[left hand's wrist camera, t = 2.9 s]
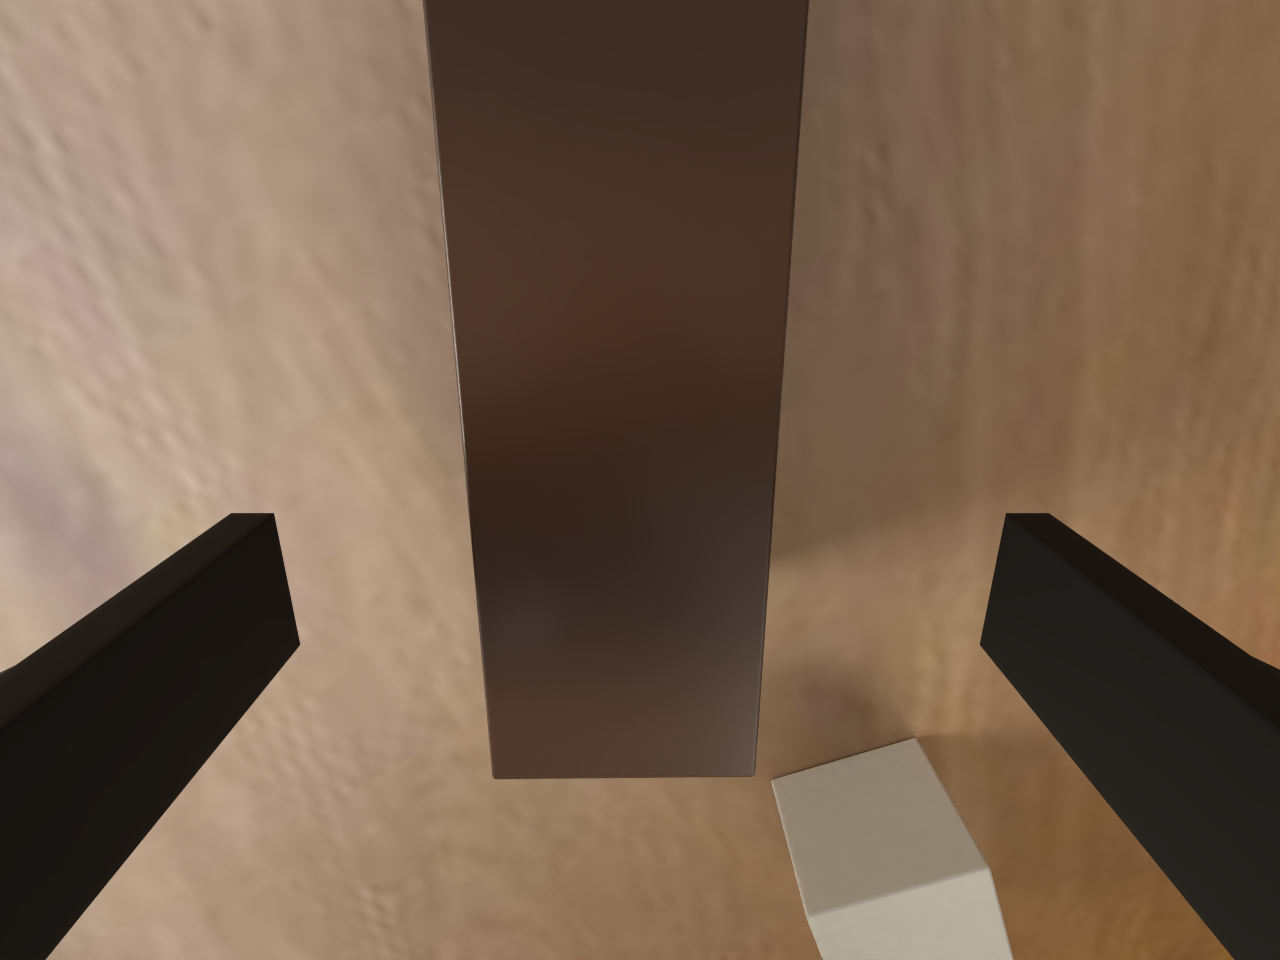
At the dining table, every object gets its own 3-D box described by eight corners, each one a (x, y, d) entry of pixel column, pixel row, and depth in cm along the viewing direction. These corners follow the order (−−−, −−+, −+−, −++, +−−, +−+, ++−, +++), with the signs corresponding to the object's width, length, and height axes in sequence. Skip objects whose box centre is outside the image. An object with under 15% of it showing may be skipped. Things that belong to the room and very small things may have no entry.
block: (946, 844, 24) (1022, 991, 20) (809, 882, 25) (851, 1034, 20) (916, 736, 23) (991, 866, 18) (770, 778, 23) (805, 917, 18)
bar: (709, 579, 21) (755, 778, 13) (542, 581, 21) (492, 781, 13) (760, -763, 12) (984, -2465, 4) (470, -767, 12) (194, -2502, 4)
